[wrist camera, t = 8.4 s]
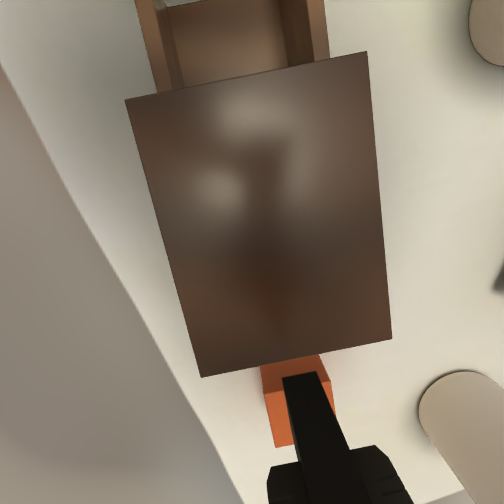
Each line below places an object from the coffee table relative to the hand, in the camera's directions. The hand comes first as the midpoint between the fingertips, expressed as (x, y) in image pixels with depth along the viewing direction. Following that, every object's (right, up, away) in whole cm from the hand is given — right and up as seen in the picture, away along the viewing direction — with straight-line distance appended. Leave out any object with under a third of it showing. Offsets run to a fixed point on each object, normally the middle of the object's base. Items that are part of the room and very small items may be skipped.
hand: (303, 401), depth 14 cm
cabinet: (-2, +10, +11) cm, 15 cm away
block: (+1, -5, +15) cm, 16 cm away
